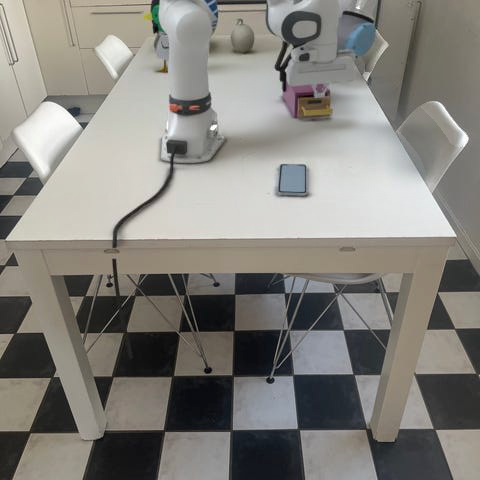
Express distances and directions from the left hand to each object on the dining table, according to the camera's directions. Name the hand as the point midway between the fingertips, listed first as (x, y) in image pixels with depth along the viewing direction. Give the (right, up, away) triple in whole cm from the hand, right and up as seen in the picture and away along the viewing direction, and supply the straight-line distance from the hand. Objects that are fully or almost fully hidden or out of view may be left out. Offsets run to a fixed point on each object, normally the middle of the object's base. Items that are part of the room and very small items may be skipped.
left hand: (319, 97), depth 158 cm
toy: (-52, +26, +53) cm, 79 cm away
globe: (-49, +44, +79) cm, 103 cm away
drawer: (-2, -1, +12) cm, 12 cm away
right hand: (-3, +8, +20) cm, 22 cm away
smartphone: (-11, -29, -26) cm, 40 cm away
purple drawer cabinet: (-2, +2, +18) cm, 18 cm away
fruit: (-23, +41, +74) cm, 88 cm away
